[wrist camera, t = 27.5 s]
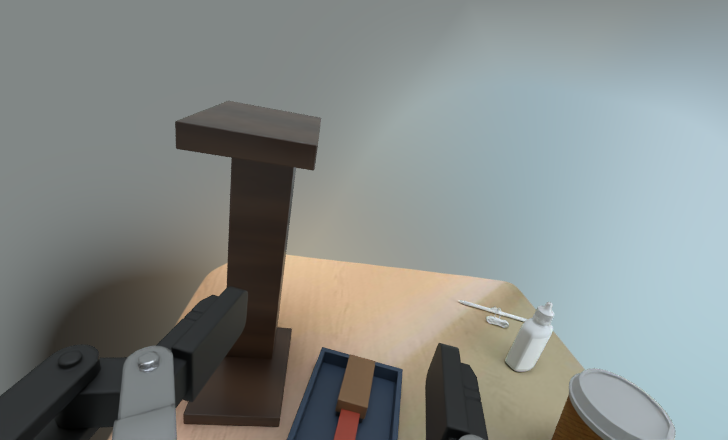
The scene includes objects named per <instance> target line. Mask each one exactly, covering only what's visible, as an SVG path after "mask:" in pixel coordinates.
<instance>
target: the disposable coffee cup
mask: <svg viewBox="0 0 728 440" xmlns="http://www.w3.org/2000/svg"><path fill="white" fill-rule="evenodd" d="M674 438H675V427H674V425H673V422H672V420H671V419H670V417H669V416H668V414H667V413H666V411H665V410H664V409H663V408H662V407H661V406H660V404H659V403H657V402H656V401H655V400H654V399H653V398H652V397H651V396H650V395H649V394H647V393H646V392H645V391H644V390H642V389H641V388H640V387H638V386H636V385H635V384H634V383H632V382H630V381H629V380H627V379H625V378H623V377H621V376H619V375H617V374H614V373H612V372H609V371H606V370H602V369H595V368H593V369H586V370H584V371H582V372H581V373H579V374H576V375H574V376H573V377H572V378H571V380H570V382H569V396H568V398H567V401H566V403H565V406H564V409H563V411H562V414H561V416H560V419H559V421H558V424H557V426H556V429H555V432H554V434H553V437H552V440H674Z"/></svg>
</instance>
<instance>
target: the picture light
mask: <svg viewBox="0 0 728 440" xmlns="http://www.w3.org/2000/svg"><path fill="white" fill-rule="evenodd" d="M458 302H460V303H462V304H464V305H468V306H472V307H475V308H479V309H482V310H485V311H489V312H492V313H495V316H496V314H499V315H503V316H506V317H510V318H513V319H516V320H520V321H523V322H525V321H526V320H528V319H526V318H522V317H518V316H515V315H511V314H508V313H504V312H501V309H500V311H499V308H498V309H495V308H496V307H495V306H494V307H495V308H494V307H493V308H491V309H490V308H487V307H483V306H480V305H477V304H473V303H470V302H466V301H464V302H463V300H462V301H461V300H460V301H458ZM486 320H487V321H488V323H490V324H495V325H498V326H502V327H503V328H505V327H509V324H508V322H507V321H506V320H501V319H500V316H499V318H495V317H492V316H489V317H486Z"/></svg>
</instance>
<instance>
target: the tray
mask: <svg viewBox="0 0 728 440" xmlns="http://www.w3.org/2000/svg"><path fill="white" fill-rule="evenodd" d="M348 359H349V354H345V353H342V352H338V351H334V350H331V349H327V348H324V347H322V349H321V352H320V354H319V357H318V360H317V362H316V365H315V367H314V370H313V373H312V375H311V378H310V380H309V383H308V386H307V388H306V391H305V393H304V396H303V399H302V401H301V404H300V407H299V409H298V412H297V414H296V417H295V420H294V422H293V425H292V427H291V430H290V433H289V435H288V438H287V440H334V436H335V432H336V428H337V424H338V420H339V417H338V416H336V411H335V409H336V404H337V400H338V396H339V393H340V389H341V385H342V381H343V378H344V374H345V370H346V367H347V363H348ZM402 371H403V370H402V369H400V368H396V367H392V366H389V365H385V364H381V363H378V362H375V368H374V374H373V380H372V386H371V392H370V397H369V403H368V409H367V412H366V416H365V419H363V421H362V423H359V422H358V427H357V433H356V438H355V440H398V426H399V412H400V398H401V385H402Z"/></svg>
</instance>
